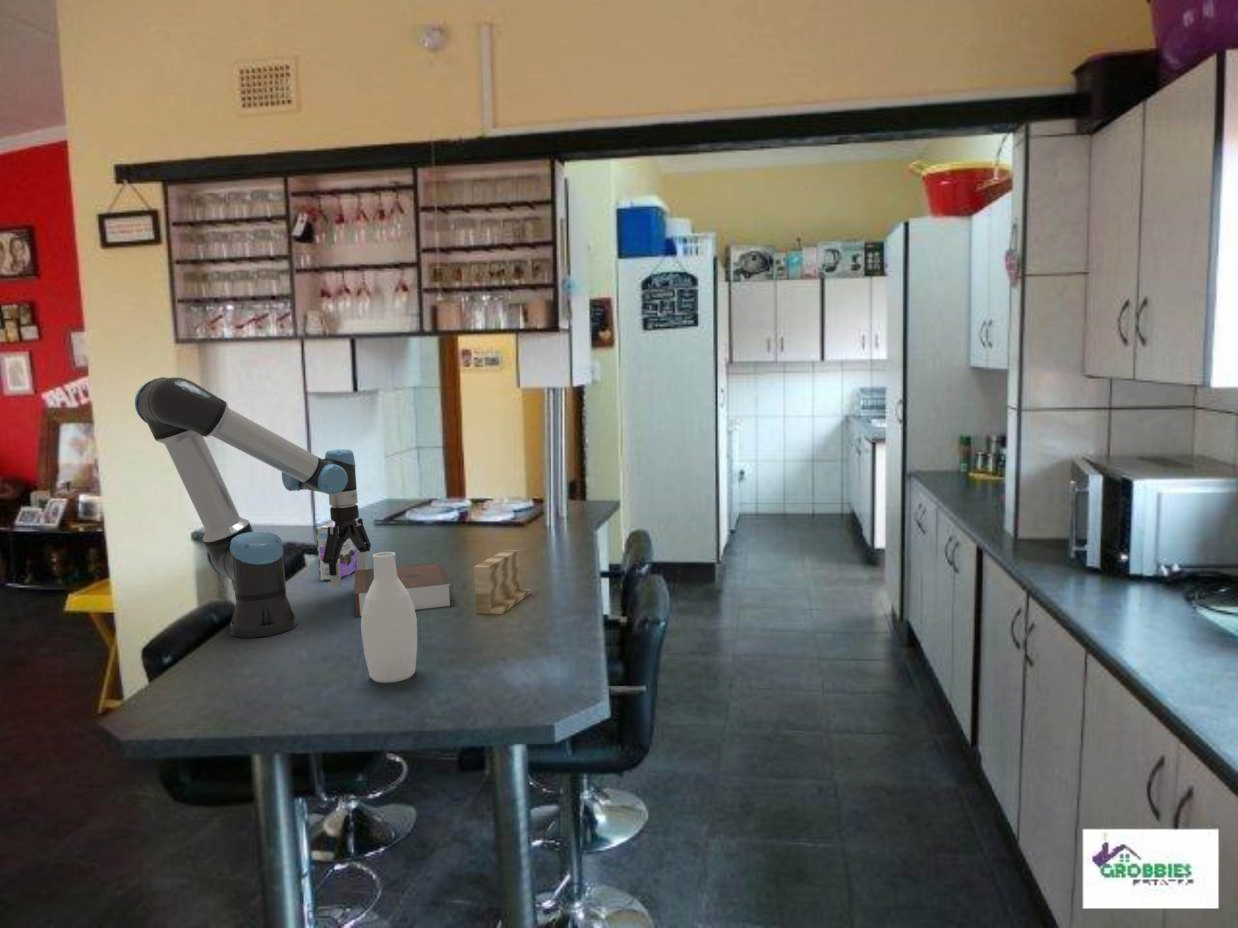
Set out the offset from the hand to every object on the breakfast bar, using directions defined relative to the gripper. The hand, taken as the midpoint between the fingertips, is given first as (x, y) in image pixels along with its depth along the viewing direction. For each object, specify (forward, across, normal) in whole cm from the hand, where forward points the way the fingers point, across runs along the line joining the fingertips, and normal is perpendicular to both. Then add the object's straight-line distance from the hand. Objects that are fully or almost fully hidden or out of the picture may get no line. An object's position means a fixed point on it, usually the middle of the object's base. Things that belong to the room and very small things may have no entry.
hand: (349, 580), depth 250 cm
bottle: (+4, -57, -46) cm, 73 cm away
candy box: (+5, +21, +17) cm, 27 cm away
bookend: (+4, -2, -47) cm, 47 cm away
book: (+5, -1, -17) cm, 17 cm away
